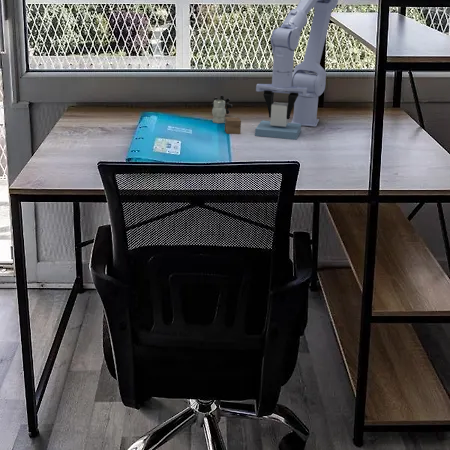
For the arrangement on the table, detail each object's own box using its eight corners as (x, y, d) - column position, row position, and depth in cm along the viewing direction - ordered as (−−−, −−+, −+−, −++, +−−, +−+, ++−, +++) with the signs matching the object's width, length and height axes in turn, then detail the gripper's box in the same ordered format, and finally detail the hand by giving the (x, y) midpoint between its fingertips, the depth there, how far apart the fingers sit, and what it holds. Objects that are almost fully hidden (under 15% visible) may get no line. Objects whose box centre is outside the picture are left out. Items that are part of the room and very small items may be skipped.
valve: (228, 124, 252) (231, 116, 263) (229, 102, 250) (232, 95, 261) (207, 123, 252) (211, 114, 263) (208, 101, 250) (211, 94, 261)
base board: (261, 126, 250) (261, 120, 249) (300, 130, 248) (301, 123, 247) (254, 135, 239) (255, 129, 238) (296, 139, 237) (296, 132, 236)
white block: (272, 122, 245) (273, 101, 243) (287, 123, 244) (288, 103, 242) (270, 125, 241) (271, 104, 239) (285, 126, 240) (287, 106, 238)
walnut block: (224, 130, 243) (225, 117, 242) (238, 130, 244) (238, 117, 243) (226, 134, 240) (227, 120, 238) (240, 134, 240) (241, 120, 239)
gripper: (255, 71, 235) (252, 118, 239) (306, 75, 232) (302, 122, 237) (259, 67, 241) (256, 113, 246) (309, 71, 239) (305, 117, 243)
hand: (279, 117), depth 242 cm, fingers closed on white block, 5 cm apart
